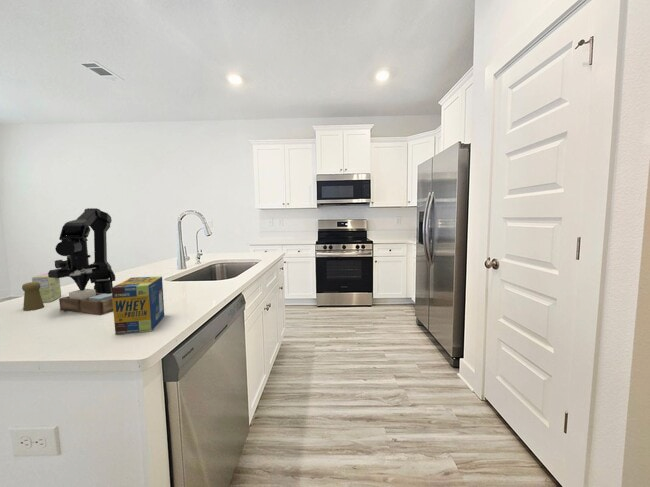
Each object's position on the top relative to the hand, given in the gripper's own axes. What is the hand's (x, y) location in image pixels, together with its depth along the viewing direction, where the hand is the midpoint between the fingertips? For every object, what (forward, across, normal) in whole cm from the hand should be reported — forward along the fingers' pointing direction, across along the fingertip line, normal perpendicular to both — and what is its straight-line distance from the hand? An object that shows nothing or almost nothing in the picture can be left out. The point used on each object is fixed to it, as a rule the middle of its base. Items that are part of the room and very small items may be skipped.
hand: (82, 290), depth 114 cm
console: (+7, 0, +6) cm, 9 cm away
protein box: (+8, +8, +40) cm, 42 cm away
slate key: (+6, 0, +11) cm, 12 cm away
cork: (+8, +6, -20) cm, 22 cm away
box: (+8, -4, -28) cm, 30 cm away
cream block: (+4, 0, 0) cm, 4 cm away
